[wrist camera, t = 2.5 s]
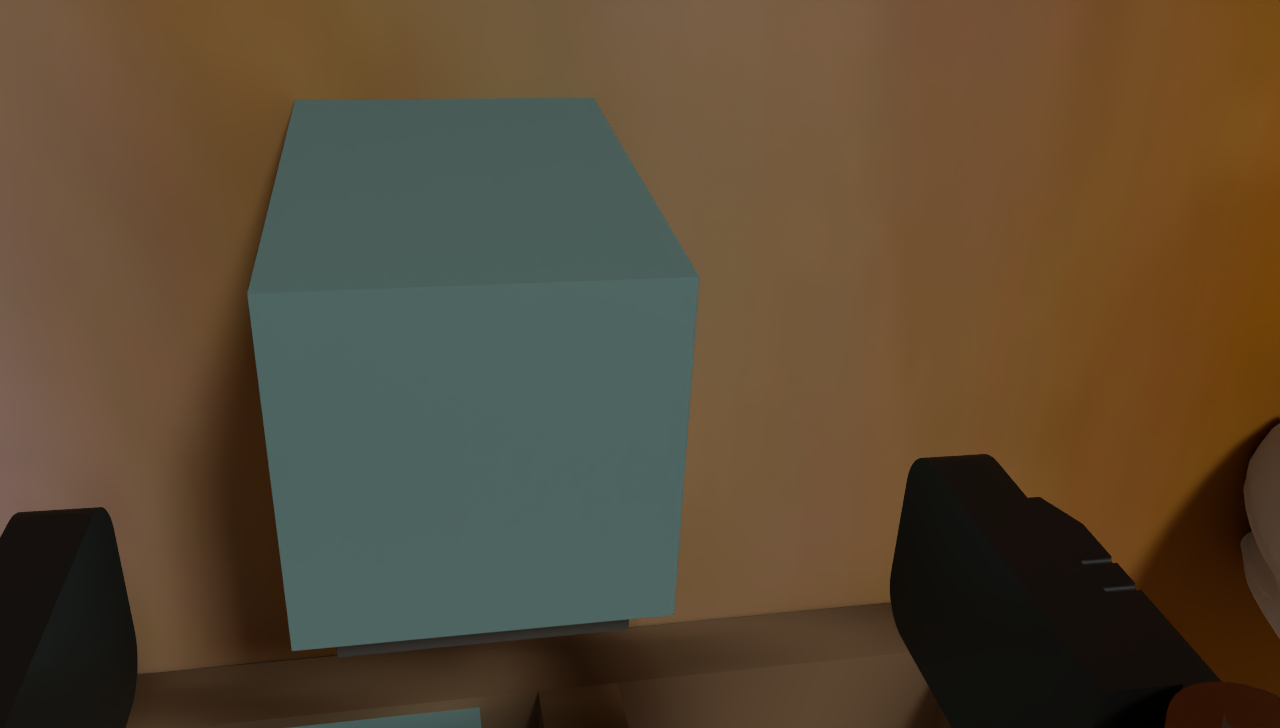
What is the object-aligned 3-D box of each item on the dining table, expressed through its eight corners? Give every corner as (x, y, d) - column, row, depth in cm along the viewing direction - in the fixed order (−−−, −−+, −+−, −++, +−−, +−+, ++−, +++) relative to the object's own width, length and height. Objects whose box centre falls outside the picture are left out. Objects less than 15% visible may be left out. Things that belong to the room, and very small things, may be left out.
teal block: (294, 99, 17) (247, 293, 11) (593, 97, 18) (698, 276, 12) (323, 397, 20) (297, 689, 14) (585, 382, 20) (671, 652, 14)
